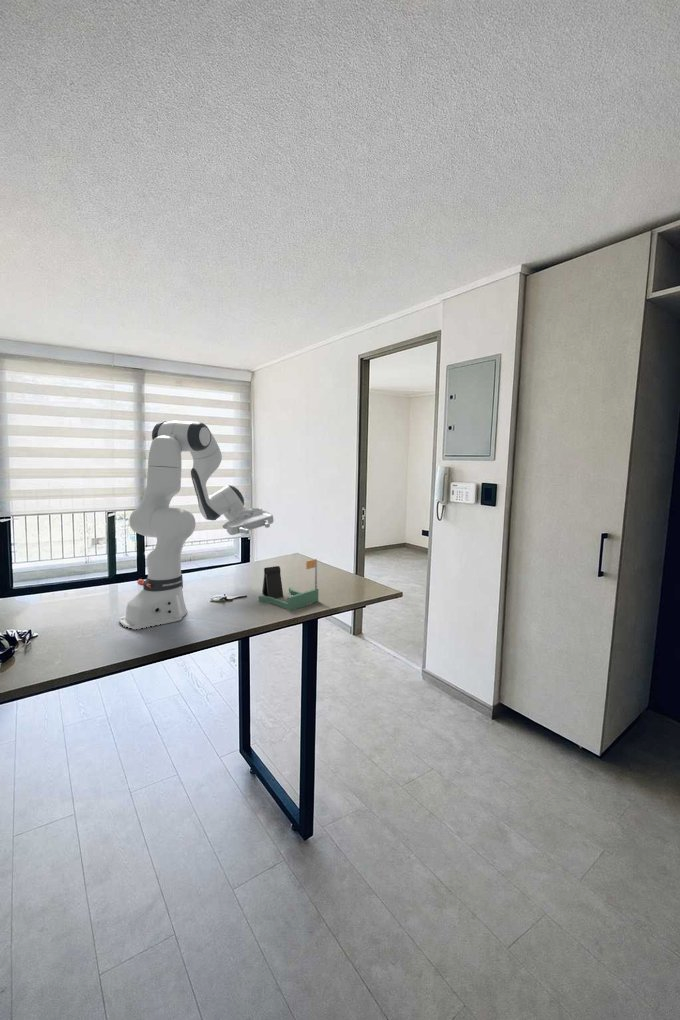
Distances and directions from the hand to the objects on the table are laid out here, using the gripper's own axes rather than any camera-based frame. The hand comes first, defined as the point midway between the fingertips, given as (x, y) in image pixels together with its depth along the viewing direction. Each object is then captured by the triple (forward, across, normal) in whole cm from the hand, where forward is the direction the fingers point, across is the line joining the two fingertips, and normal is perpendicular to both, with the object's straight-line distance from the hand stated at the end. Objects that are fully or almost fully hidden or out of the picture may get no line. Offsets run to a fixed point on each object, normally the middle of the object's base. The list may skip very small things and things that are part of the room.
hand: (257, 529), depth 183 cm
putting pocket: (+21, 0, +24) cm, 32 cm away
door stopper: (+12, -2, +26) cm, 28 cm away
